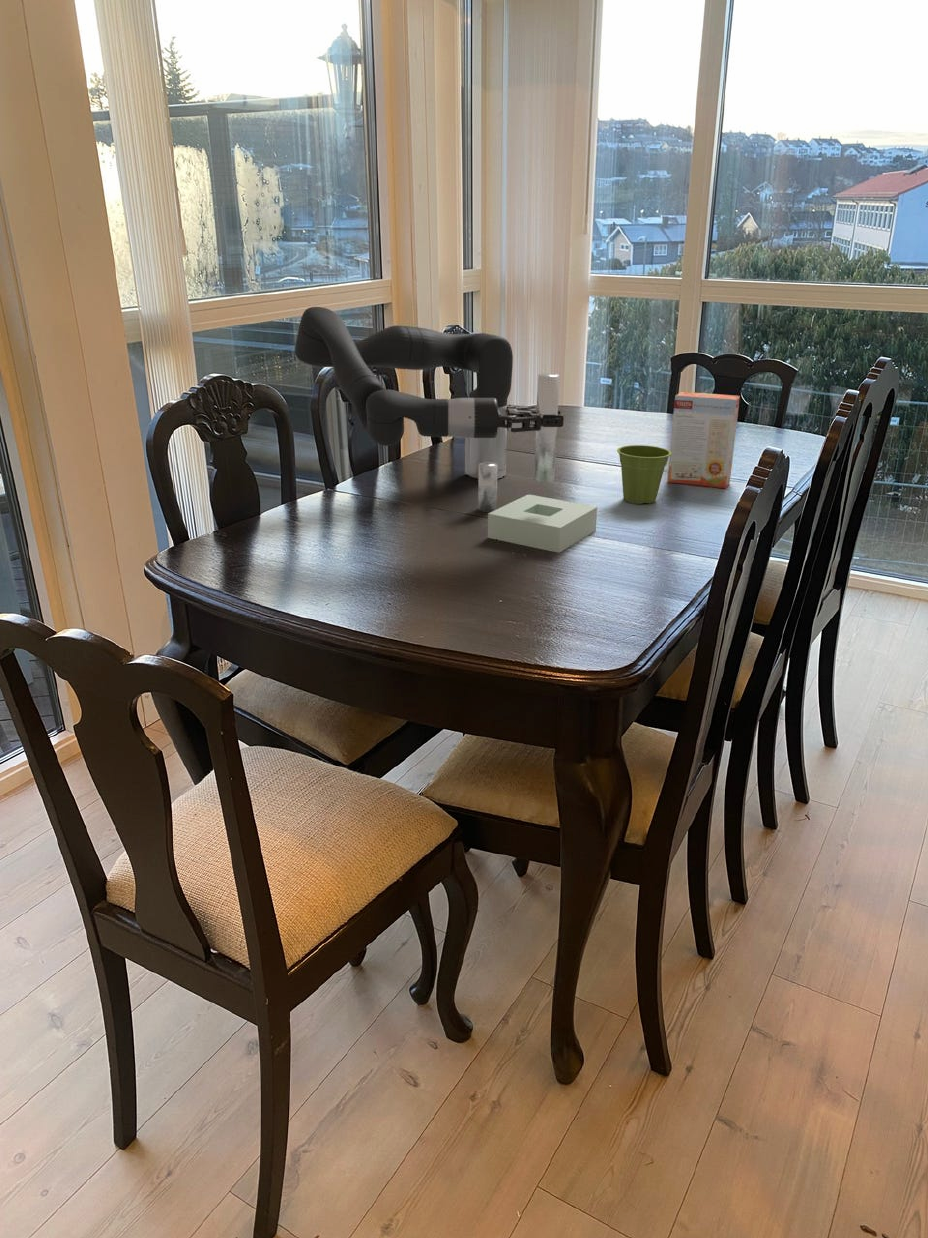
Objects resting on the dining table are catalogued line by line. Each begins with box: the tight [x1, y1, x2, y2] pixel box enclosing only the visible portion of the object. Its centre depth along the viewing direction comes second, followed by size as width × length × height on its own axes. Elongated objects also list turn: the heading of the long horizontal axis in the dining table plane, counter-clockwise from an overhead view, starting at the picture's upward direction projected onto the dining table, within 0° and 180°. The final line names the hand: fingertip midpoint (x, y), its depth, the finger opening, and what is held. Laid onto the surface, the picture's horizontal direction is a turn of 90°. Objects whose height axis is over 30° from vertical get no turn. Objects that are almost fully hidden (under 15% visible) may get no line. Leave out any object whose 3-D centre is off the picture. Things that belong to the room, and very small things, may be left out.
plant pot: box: [616, 444, 672, 505], centre depth 202 cm, size 12×12×11 cm
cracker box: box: [667, 391, 741, 489], centre depth 213 cm, size 14×6×21 cm, turn 65°
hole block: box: [487, 494, 598, 554], centre depth 181 cm, size 16×16×5 cm
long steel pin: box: [533, 373, 560, 483], centre depth 173 cm, size 4×4×20 cm
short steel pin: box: [477, 462, 498, 513], centre depth 195 cm, size 4×4×10 cm
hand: (561, 418), depth 173 cm, fingers closed on long steel pin, 4 cm apart
